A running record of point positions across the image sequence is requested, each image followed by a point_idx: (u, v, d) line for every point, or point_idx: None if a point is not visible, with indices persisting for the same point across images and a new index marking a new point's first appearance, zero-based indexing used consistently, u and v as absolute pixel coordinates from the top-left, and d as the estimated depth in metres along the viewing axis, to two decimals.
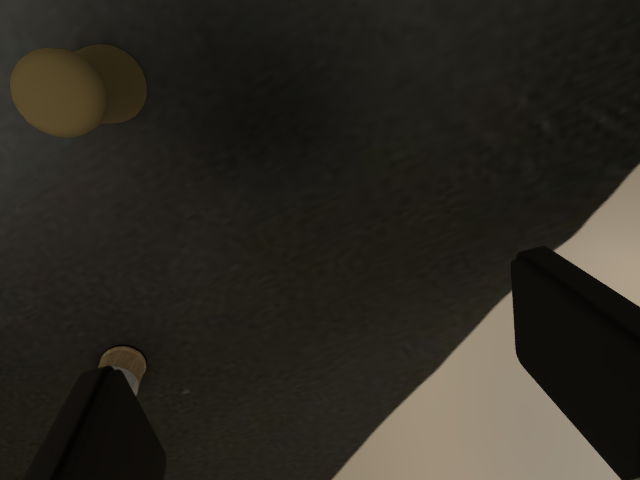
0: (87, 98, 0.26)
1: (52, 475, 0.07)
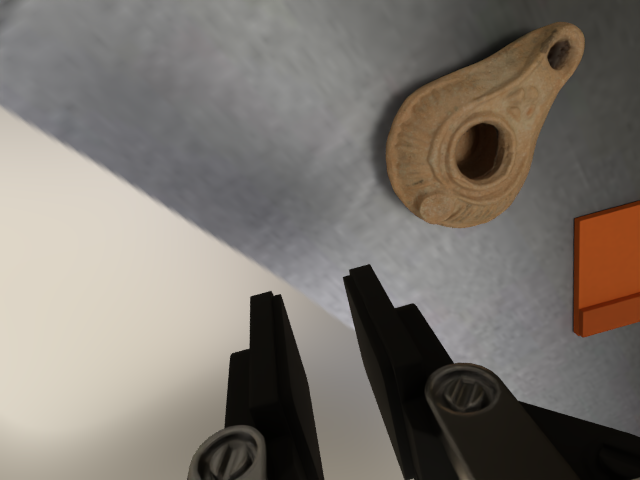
0: None
1: (275, 360, 0.08)
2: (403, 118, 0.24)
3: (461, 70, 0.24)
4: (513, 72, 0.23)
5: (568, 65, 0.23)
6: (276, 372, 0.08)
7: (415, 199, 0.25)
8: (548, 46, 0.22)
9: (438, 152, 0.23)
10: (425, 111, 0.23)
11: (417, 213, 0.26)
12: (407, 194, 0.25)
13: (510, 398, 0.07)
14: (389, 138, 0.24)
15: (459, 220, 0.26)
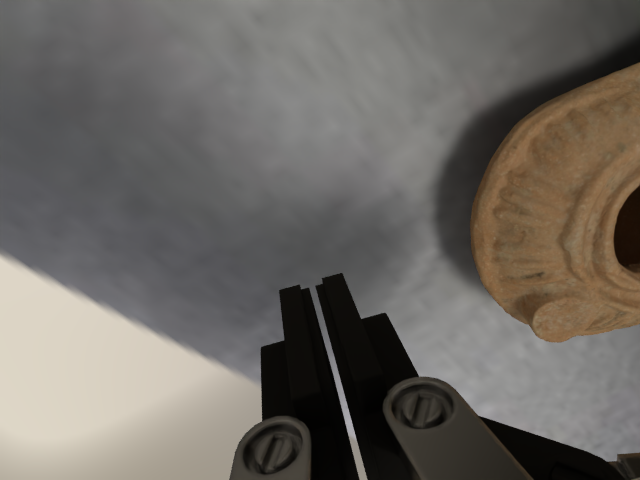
0: None
1: (312, 352, 0.08)
2: (511, 162, 0.13)
3: (621, 74, 0.13)
4: None
5: None
6: (315, 363, 0.08)
7: (520, 297, 0.15)
8: None
9: (583, 229, 0.12)
10: (557, 151, 0.12)
11: (517, 316, 0.15)
12: (506, 290, 0.15)
13: (467, 410, 0.06)
14: (482, 196, 0.13)
15: (590, 330, 0.15)
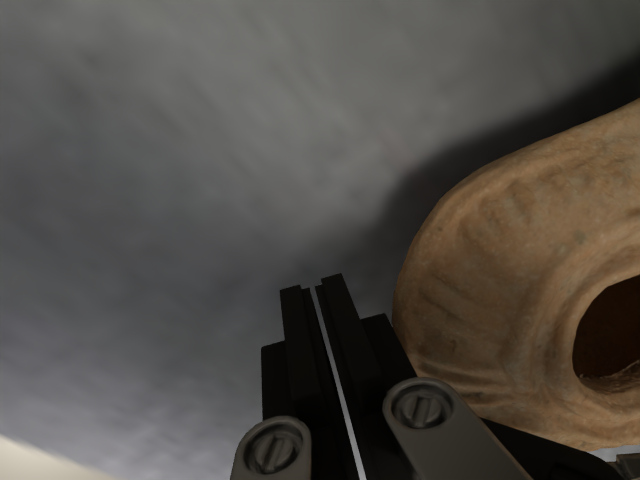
0: None
1: (313, 351, 0.08)
2: (436, 248, 0.10)
3: (583, 130, 0.09)
4: None
5: None
6: (315, 362, 0.08)
7: None
8: None
9: (530, 347, 0.09)
10: (494, 239, 0.09)
11: None
12: None
13: (467, 410, 0.06)
14: (401, 290, 0.10)
15: None
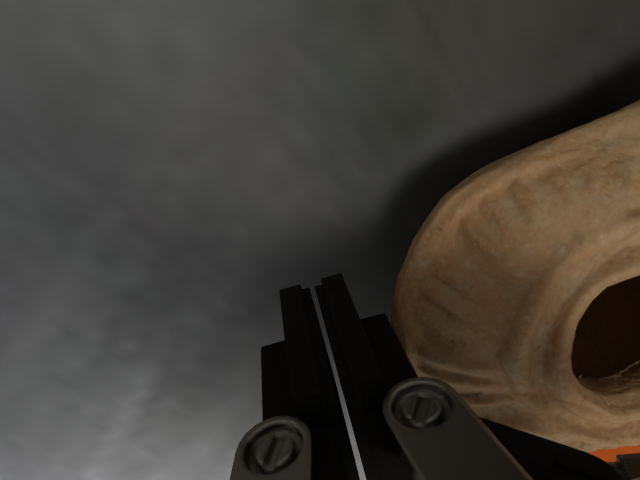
0: None
1: (312, 351, 0.08)
2: (436, 248, 0.10)
3: (583, 130, 0.09)
4: None
5: None
6: (315, 363, 0.08)
7: None
8: None
9: (529, 348, 0.09)
10: (494, 239, 0.09)
11: None
12: None
13: (467, 410, 0.06)
14: (401, 289, 0.10)
15: None
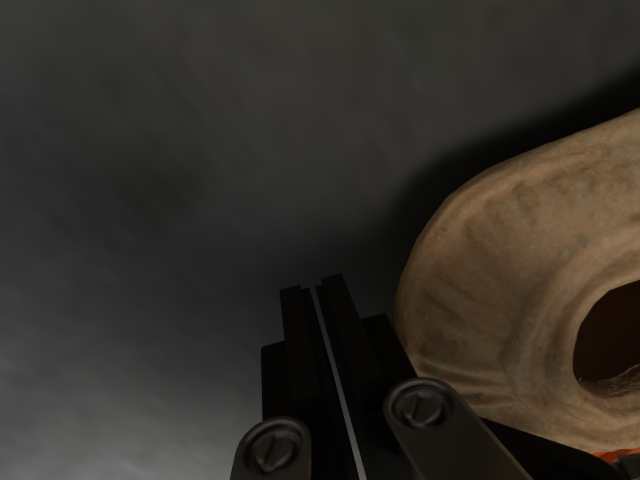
0: None
1: (312, 351, 0.08)
2: (440, 248, 0.10)
3: (588, 134, 0.09)
4: None
5: None
6: (315, 363, 0.08)
7: None
8: None
9: (530, 349, 0.09)
10: (498, 240, 0.09)
11: None
12: None
13: (467, 410, 0.06)
14: (404, 289, 0.10)
15: None
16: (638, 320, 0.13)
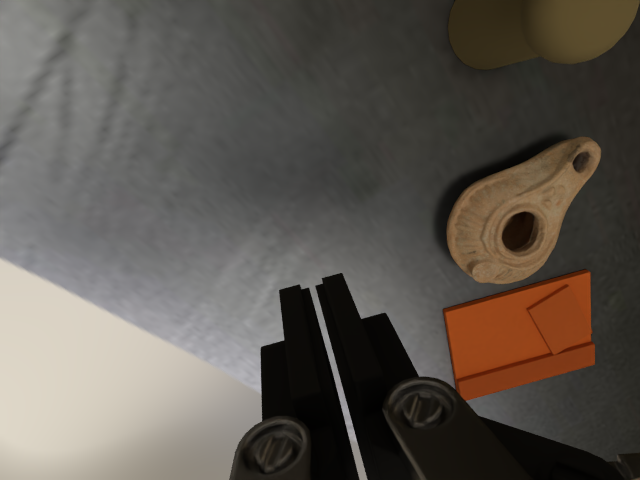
0: None
1: (312, 352, 0.08)
2: (462, 205, 0.32)
3: (507, 170, 0.31)
4: (547, 174, 0.31)
5: (588, 169, 0.31)
6: (314, 363, 0.08)
7: (468, 263, 0.33)
8: (573, 157, 0.30)
9: (489, 232, 0.31)
10: (479, 202, 0.31)
11: (468, 272, 0.34)
12: (462, 259, 0.33)
13: (467, 410, 0.06)
14: (450, 218, 0.32)
15: (501, 279, 0.34)
16: None
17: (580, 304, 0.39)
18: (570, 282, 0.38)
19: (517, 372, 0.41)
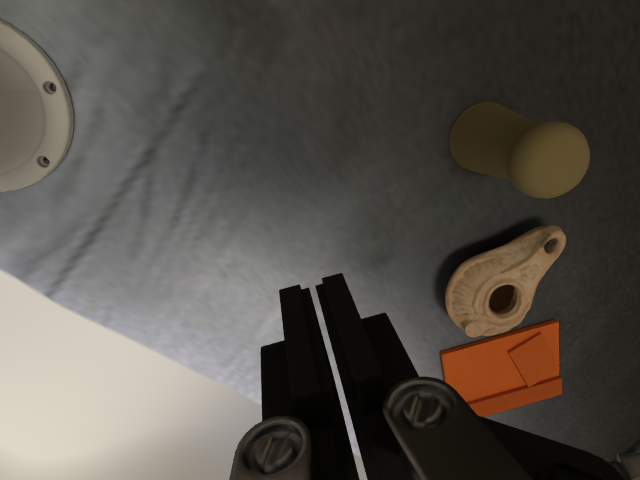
0: (568, 134, 0.28)
1: (312, 352, 0.08)
2: (458, 277, 0.40)
3: (493, 251, 0.40)
4: (524, 256, 0.39)
5: (556, 251, 0.40)
6: (315, 363, 0.08)
7: (462, 321, 0.42)
8: (544, 243, 0.39)
9: (478, 301, 0.39)
10: (471, 276, 0.39)
11: (461, 327, 0.42)
12: (457, 318, 0.42)
13: (467, 410, 0.06)
14: (448, 287, 0.40)
15: (487, 333, 0.42)
16: None
17: (550, 347, 0.48)
18: (543, 330, 0.47)
19: (499, 401, 0.49)
